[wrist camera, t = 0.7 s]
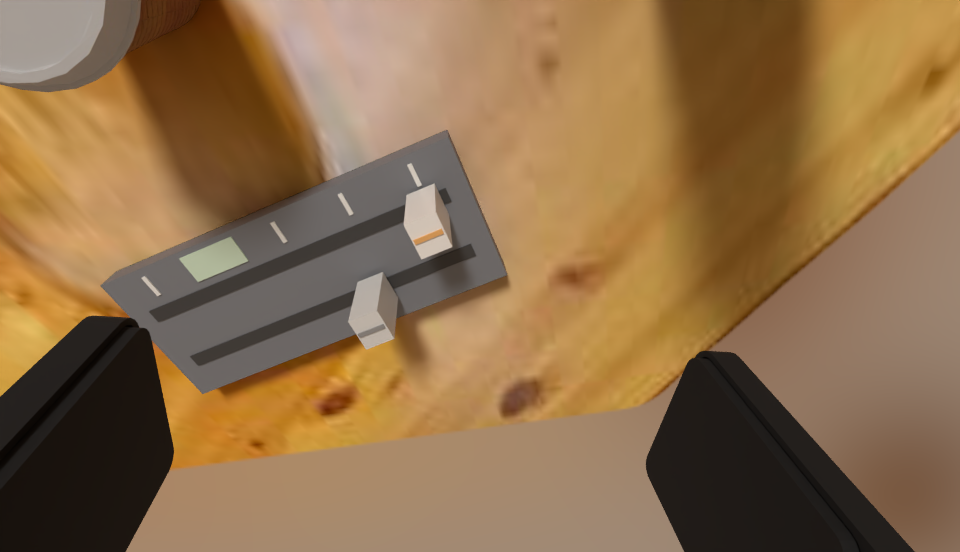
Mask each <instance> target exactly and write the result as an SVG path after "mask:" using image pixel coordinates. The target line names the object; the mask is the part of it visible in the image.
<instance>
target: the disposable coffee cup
mask: <svg viewBox="0 0 960 552" xmlns="http://www.w3.org/2000/svg"><path fill="white" fill-rule="evenodd" d="M200 2H201V0H0V84H1V85H5V86H10V87H14V88H18V89H22V90H31V91H41V92H53V91H61V90H68V89H76V88H79V87H81V86H84V85H86V84H89V83H91V82H93V81H96V80H97V79H99V78H101V77H102V76H104V75H105V74H107V73H108V72H110V71H111V70H112V69H113V68H114V67H115V66H116V65H117V63H118V62H119V61H120V60H121V59H122V58H123V57H124V56H125V54H126V53H128V52H130V51H132V50H134V49H136V48H138V47H140V46H142V45H144V44H146V43H149V42H151V41H152V40H154V39H156V38H158V37H160V36H162V35H164V34H166V33H168V32H170V31H172V30H175V29H177V28H179V27H181V26H183V25H184V24H186V23H187V22H188V21H189V20H190V19H191V18H192V17H193V15H194V14H195V13H196V11H197V9H198V7H199V5H200Z"/></svg>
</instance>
